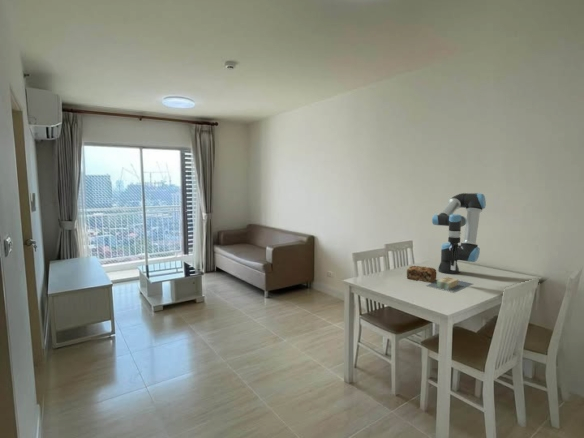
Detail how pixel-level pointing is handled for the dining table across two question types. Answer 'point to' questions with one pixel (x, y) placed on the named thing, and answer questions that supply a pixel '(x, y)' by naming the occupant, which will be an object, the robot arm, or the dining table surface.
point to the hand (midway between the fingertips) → (453, 269)
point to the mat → (459, 287)
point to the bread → (421, 273)
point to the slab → (447, 283)
